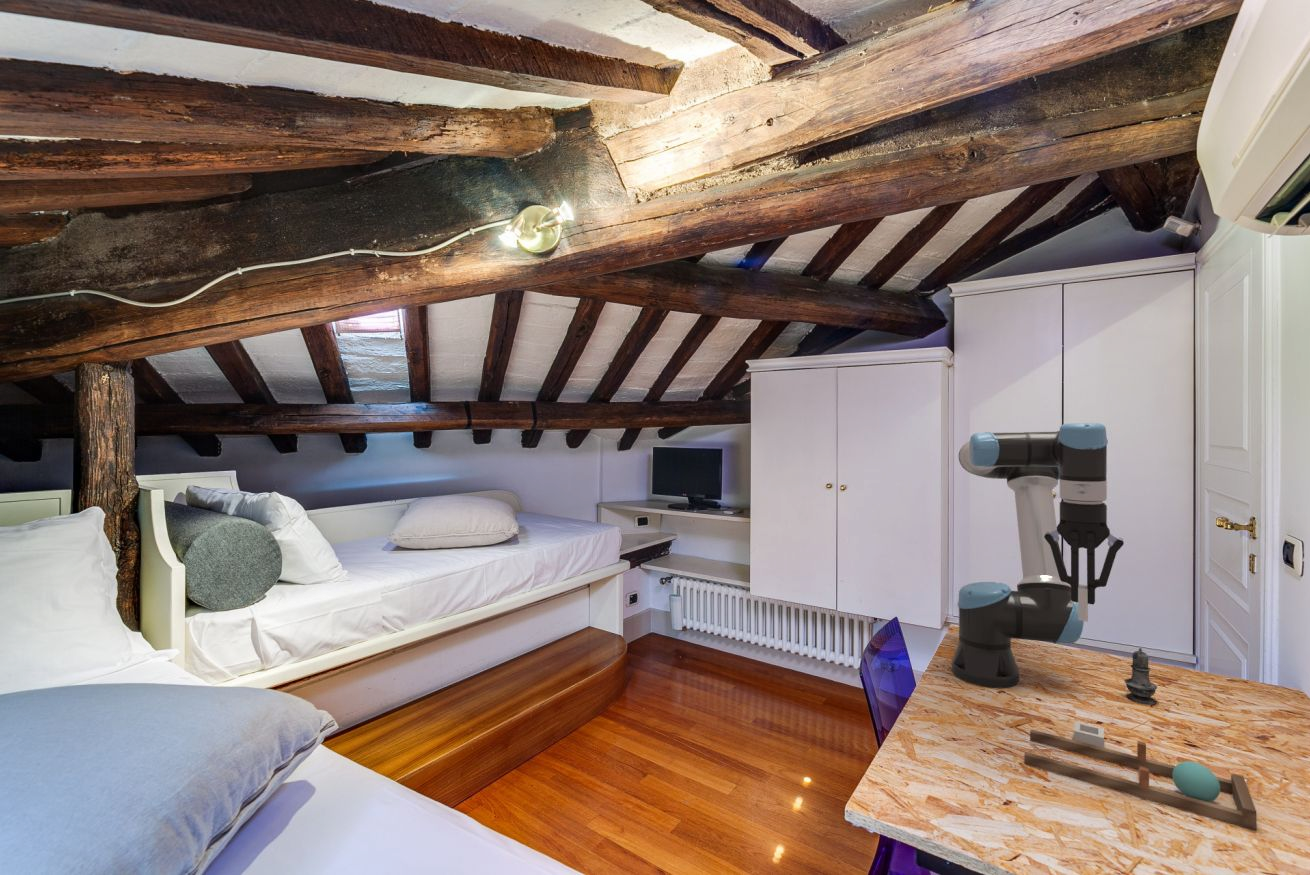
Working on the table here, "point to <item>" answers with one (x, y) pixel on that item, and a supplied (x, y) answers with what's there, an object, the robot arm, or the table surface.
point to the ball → (1196, 781)
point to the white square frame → (1089, 734)
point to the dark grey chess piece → (1140, 680)
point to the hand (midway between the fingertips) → (1083, 618)
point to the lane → (1144, 779)
